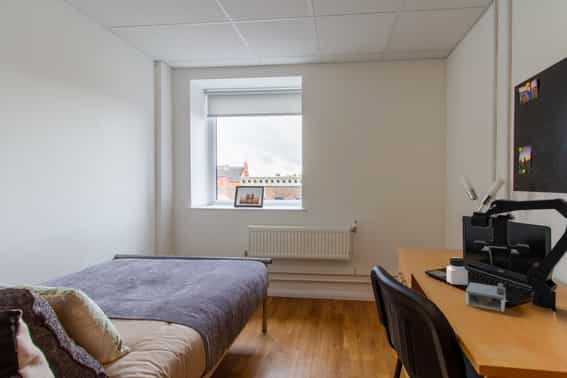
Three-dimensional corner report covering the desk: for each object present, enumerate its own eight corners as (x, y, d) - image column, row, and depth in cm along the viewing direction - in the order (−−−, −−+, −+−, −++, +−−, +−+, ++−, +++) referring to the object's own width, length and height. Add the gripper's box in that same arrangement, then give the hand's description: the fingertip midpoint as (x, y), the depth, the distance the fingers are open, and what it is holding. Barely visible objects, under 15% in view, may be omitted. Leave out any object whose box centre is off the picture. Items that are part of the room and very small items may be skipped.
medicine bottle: (468, 286, 144) (468, 260, 144) (451, 285, 146) (451, 259, 146) (462, 281, 151) (462, 256, 151) (446, 280, 153) (446, 256, 153)
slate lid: (505, 289, 125) (505, 282, 125) (503, 299, 115) (504, 291, 115) (470, 284, 132) (470, 277, 132) (465, 292, 122) (465, 285, 122)
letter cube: (492, 303, 123) (492, 292, 123) (491, 306, 120) (491, 295, 120) (480, 300, 126) (480, 290, 126) (478, 304, 122) (478, 293, 122)
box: (505, 303, 125) (505, 290, 125) (503, 314, 115) (503, 300, 115) (469, 296, 132) (470, 284, 132) (465, 306, 122) (465, 293, 122)
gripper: (528, 228, 132) (528, 266, 133) (476, 225, 143) (476, 260, 144) (529, 232, 123) (528, 273, 124) (473, 229, 134) (473, 266, 135)
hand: (500, 267), depth 132 cm, fingers open, 6 cm apart
